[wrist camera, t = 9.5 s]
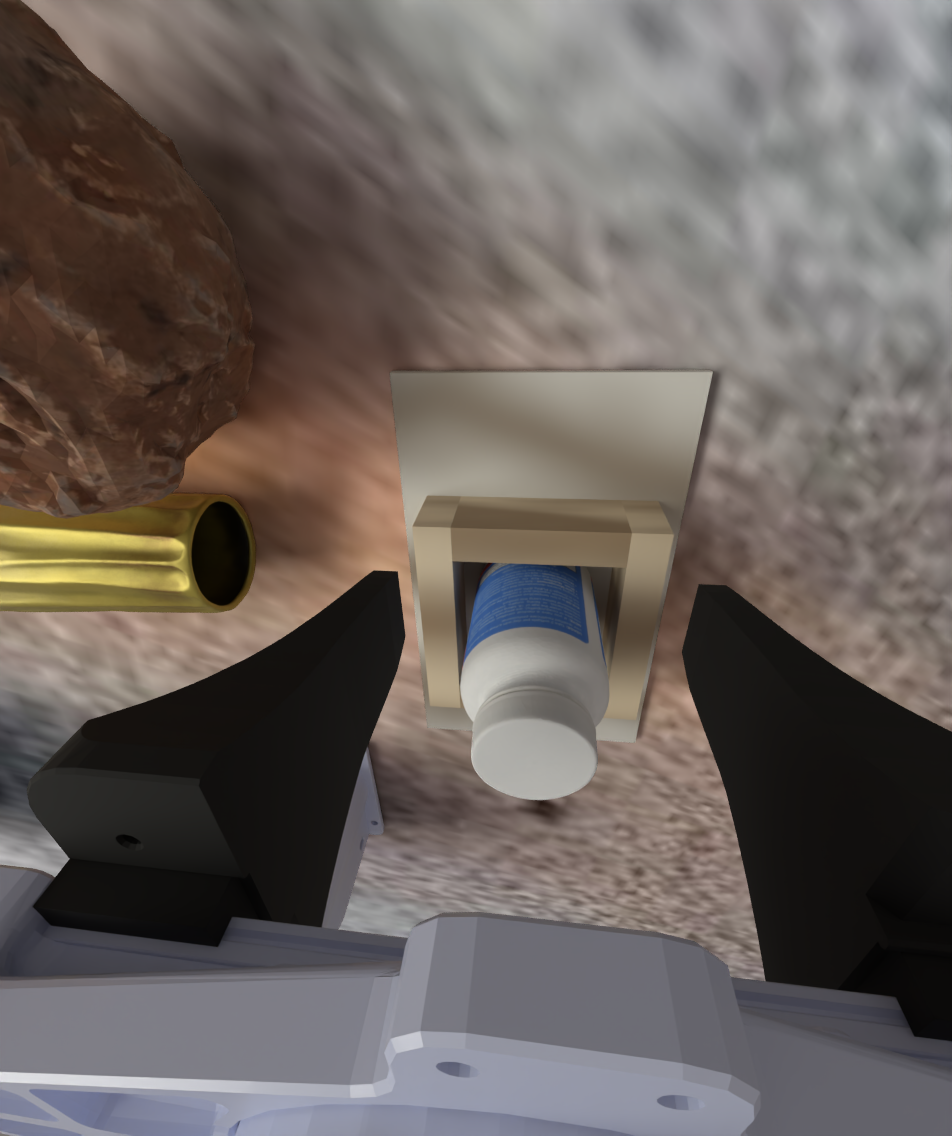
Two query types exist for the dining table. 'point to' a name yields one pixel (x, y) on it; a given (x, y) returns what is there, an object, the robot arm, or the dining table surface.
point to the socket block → (545, 505)
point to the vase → (129, 558)
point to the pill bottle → (535, 679)
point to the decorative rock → (104, 291)
